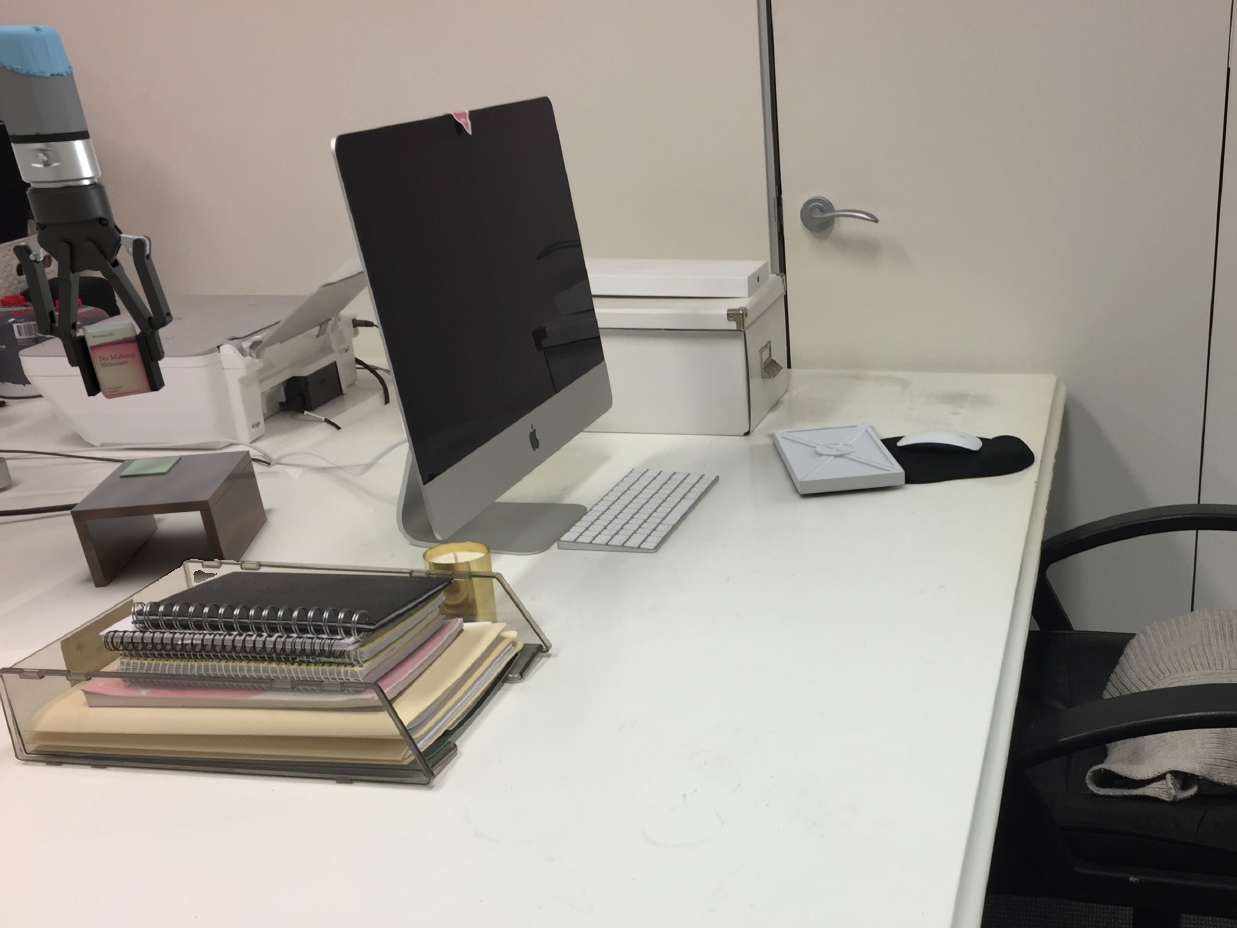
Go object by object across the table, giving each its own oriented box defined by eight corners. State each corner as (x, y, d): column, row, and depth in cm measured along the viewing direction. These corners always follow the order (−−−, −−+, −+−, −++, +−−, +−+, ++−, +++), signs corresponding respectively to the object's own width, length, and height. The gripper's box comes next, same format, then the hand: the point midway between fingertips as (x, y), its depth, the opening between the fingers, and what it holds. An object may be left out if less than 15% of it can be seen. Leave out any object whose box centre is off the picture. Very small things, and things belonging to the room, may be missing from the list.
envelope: (867, 436, 181) (774, 444, 178) (866, 421, 180) (773, 429, 177) (904, 486, 159) (799, 496, 157) (904, 469, 158) (798, 479, 156)
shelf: (95, 587, 137) (69, 509, 133) (147, 529, 153) (125, 457, 149) (228, 575, 139) (207, 498, 135) (266, 519, 155) (248, 448, 151)
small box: (106, 400, 143) (85, 331, 139) (101, 393, 146) (80, 325, 142) (154, 392, 145) (135, 324, 142) (148, 385, 148) (128, 319, 145)
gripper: (-48, 191, 130) (25, 406, 140) (147, 181, 133) (204, 392, 144) (-17, 183, 137) (50, 389, 147) (168, 174, 140) (221, 376, 150)
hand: (126, 390), depth 145 cm, fingers closed on small box, 6 cm apart
